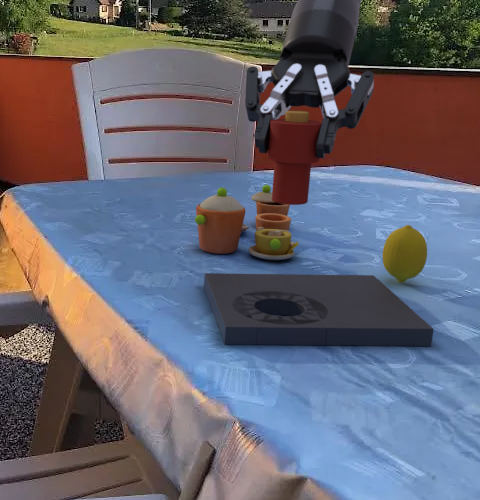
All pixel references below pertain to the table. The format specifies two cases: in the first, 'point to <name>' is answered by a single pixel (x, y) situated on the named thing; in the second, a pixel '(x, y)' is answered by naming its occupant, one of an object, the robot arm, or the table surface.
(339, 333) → the grey board with hole
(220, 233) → the toy tea set
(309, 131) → the stopper
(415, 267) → the lemon
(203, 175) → the table surface
